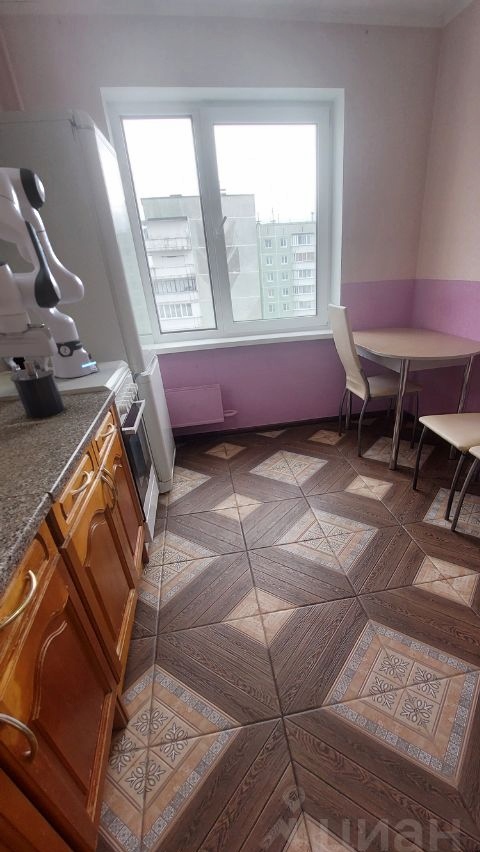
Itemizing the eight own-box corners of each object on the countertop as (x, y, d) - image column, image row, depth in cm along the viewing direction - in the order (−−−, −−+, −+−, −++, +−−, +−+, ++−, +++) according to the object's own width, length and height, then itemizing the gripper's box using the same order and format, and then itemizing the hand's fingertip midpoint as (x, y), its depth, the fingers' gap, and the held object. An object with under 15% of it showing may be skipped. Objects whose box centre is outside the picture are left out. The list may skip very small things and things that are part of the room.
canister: (32, 410, 130) (18, 373, 124) (67, 405, 133) (55, 369, 126) (24, 422, 121) (8, 383, 115) (61, 417, 124) (48, 379, 117)
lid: (17, 375, 124) (11, 359, 122) (57, 371, 127) (52, 355, 124) (6, 386, 114) (-1, 368, 112) (50, 381, 117) (45, 364, 114)
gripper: (53, 321, 114) (67, 367, 122) (-11, 323, 116) (7, 368, 123) (41, 325, 109) (57, 373, 116) (-26, 327, 110) (-6, 374, 118)
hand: (31, 371), depth 120 cm, fingers open, 8 cm apart
